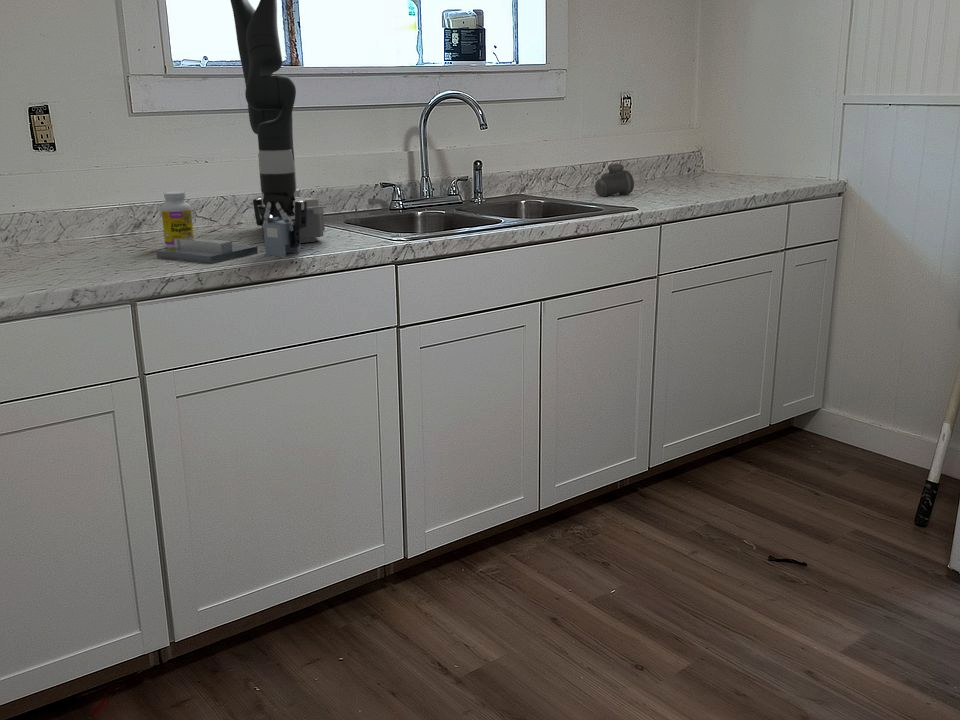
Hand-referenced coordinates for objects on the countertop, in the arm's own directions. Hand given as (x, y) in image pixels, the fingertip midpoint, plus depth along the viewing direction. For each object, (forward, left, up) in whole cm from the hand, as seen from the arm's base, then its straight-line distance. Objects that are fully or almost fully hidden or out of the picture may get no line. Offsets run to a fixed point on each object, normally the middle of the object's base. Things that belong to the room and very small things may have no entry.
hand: (282, 246), depth 207 cm
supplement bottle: (+4, -29, -2) cm, 29 cm away
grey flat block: (+9, -15, -2) cm, 17 cm away
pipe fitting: (-131, +24, -2) cm, 133 cm away
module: (0, 0, -2) cm, 2 cm away
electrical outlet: (-18, -13, -2) cm, 22 cm away
